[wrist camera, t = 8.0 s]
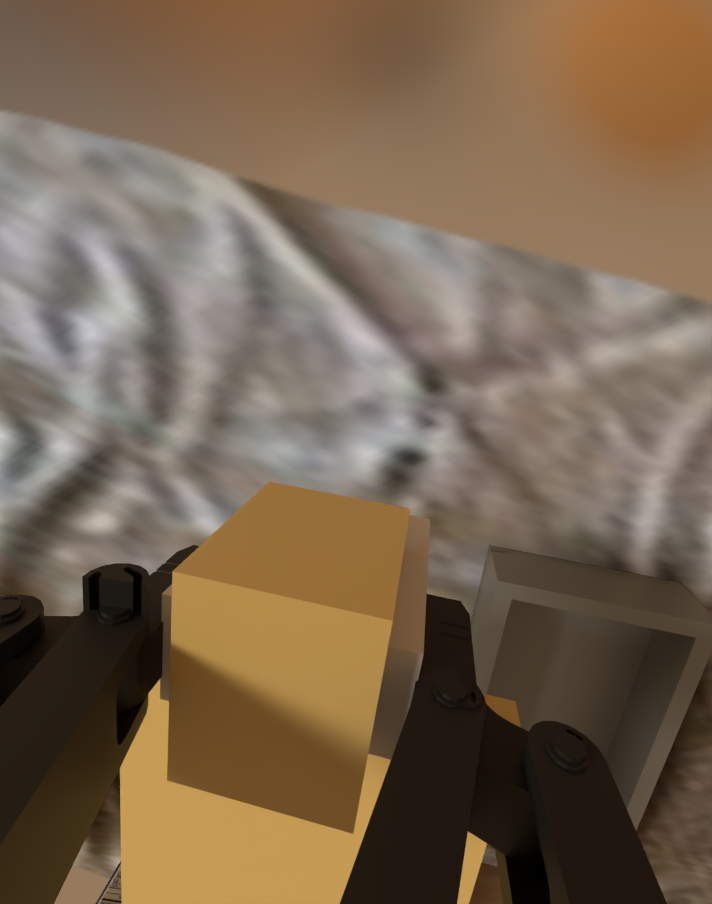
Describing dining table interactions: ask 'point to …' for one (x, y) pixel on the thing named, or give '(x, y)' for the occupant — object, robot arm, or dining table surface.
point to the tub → (592, 656)
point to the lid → (270, 709)
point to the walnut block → (487, 886)
